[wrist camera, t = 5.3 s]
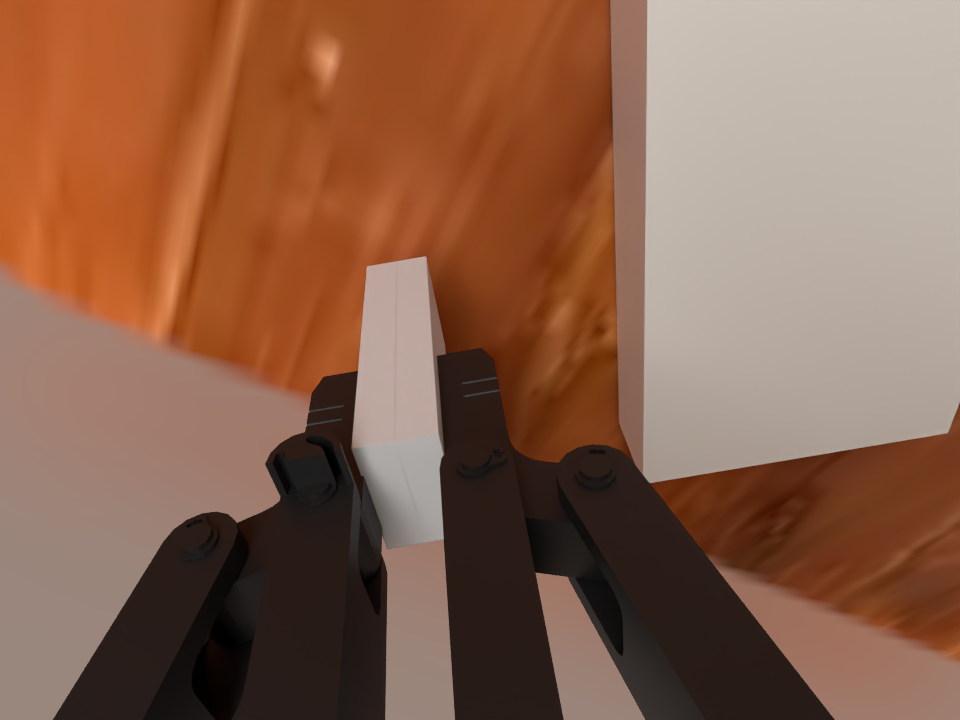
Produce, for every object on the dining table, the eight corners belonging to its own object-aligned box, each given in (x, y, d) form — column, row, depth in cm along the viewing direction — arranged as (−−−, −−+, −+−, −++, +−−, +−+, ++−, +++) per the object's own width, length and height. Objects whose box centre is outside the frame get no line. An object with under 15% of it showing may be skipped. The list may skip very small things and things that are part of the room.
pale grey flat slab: (607, -116, 14) (648, -114, 12) (1063, -196, 14) (1195, -211, 12) (619, 423, 24) (643, 484, 22) (892, 376, 24) (947, 433, 21)
